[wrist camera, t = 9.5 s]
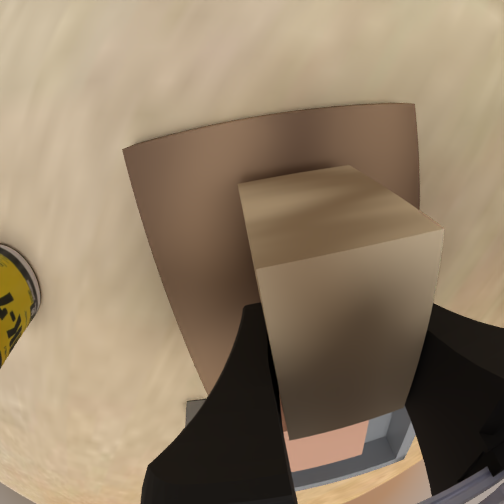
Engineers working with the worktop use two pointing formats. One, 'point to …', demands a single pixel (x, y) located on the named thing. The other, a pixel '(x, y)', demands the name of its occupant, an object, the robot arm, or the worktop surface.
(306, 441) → the pink square block
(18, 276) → the supplement bottle
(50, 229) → the worktop surface
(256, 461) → the robot arm
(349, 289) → the tall beige block
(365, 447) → the tray
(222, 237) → the board
